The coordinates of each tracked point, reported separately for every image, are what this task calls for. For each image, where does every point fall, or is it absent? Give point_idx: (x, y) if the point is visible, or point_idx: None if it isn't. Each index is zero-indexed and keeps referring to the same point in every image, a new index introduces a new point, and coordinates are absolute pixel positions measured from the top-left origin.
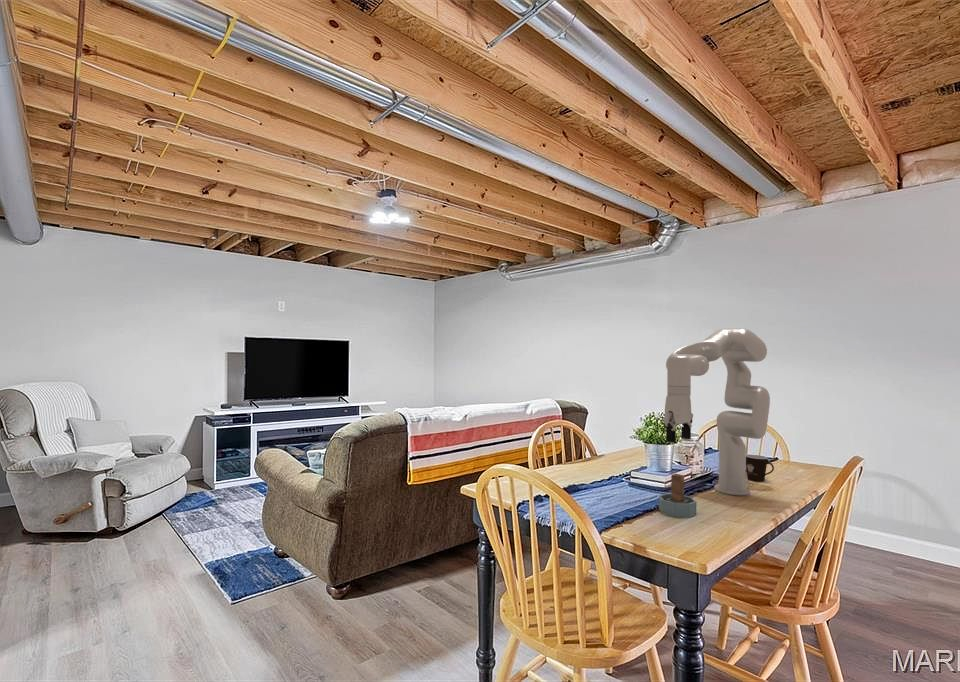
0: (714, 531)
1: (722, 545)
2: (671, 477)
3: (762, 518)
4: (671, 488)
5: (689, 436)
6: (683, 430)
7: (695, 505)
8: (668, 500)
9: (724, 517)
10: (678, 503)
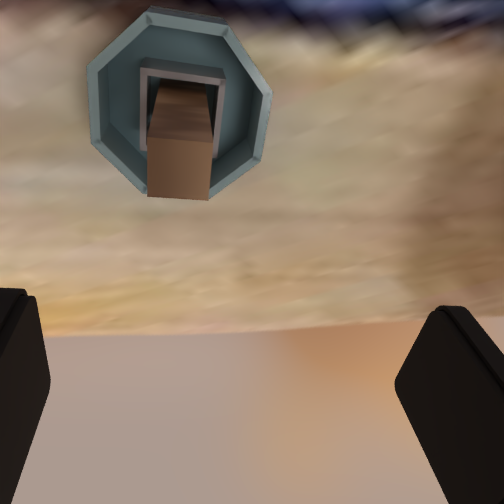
0: (93, 274)
1: None
2: (149, 131)
3: (337, 310)
4: (154, 109)
5: (406, 413)
6: (486, 424)
7: None
8: (140, 82)
9: (262, 244)
10: (109, 156)
